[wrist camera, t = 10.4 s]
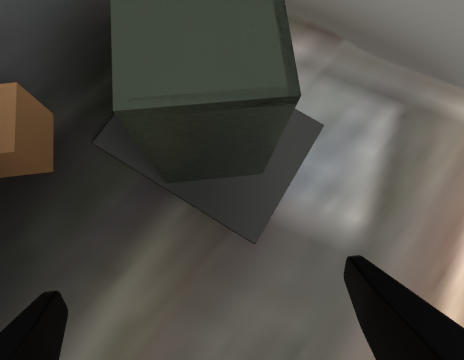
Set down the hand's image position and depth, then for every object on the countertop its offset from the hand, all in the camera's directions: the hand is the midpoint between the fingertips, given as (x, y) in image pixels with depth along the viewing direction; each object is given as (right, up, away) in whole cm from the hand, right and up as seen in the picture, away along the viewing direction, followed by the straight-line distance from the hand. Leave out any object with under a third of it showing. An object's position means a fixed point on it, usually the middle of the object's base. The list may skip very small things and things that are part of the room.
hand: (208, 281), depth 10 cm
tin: (-1, +6, +11) cm, 12 cm away
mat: (-1, +6, +11) cm, 13 cm away
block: (-13, +5, +11) cm, 17 cm away
